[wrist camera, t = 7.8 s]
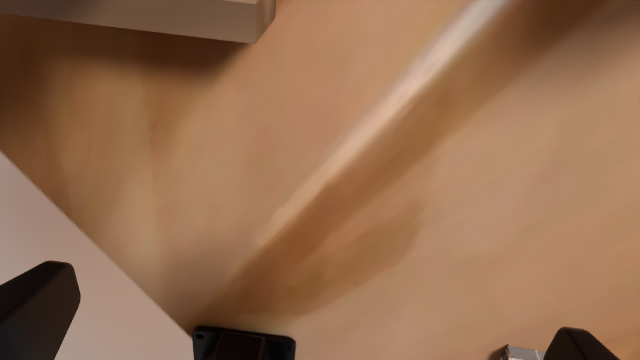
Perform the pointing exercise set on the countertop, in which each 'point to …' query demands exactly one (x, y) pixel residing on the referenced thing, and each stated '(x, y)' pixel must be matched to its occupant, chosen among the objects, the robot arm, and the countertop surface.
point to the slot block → (159, 15)
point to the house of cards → (522, 354)
